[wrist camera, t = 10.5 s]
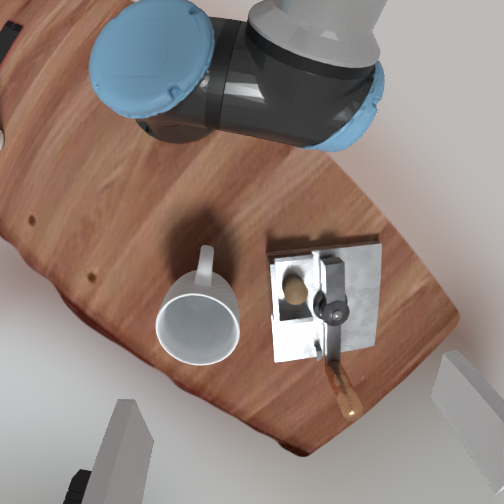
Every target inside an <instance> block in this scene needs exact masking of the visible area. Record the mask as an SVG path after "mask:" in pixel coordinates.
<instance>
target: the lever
mask: <svg viewBox="0 0 504 504" xmlns="http://www.w3.org/2000/svg"><path fill="white" fill-rule="evenodd" d="M320 262H321V283H322V297H323V298H322V299H321V301H320V302H319V306H318V310H319V312H320V314H321V316H322V318H323V320H324V322H325V372H326V374H327V377H328V379H329V382H330V384H331V387H332V389H333V391H334V394H335V396H336V399H337V401H338V404H339V406H340V409H341V411H342V414H343V416H344V419H345V420H347V421H353V420H356V419H358V418H359V417H361V416H362V414H363V413H364V409H363V407H362V405H361V402H360V400H359V398H358V396H357V394H356V392H355V390H354V388H353V386H352V384H351V382H350V380H349V378H348V376H347V374H346V372H345V370H344V368H343V366H342V364H341V362H340V351H341V324H343V323H344V322H345V321H346V320H347V319H348V317H349V314H350V310H349V307H348V305H347V304H346V303H345V262H344V261H343V260H342V259H341V258H340V257H333V258H327V259H320Z"/></svg>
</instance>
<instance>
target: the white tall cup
mask: <svg viewBox="0 0 504 504" xmlns="http://www.w3.org/2000/svg"><path fill="white" fill-rule="evenodd" d="M3 143H4V136H3V133H2V131H1V130H0V151H1V149H2V147H3Z"/></svg>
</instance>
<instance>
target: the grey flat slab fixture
mask: <svg viewBox="0 0 504 504" xmlns="http://www.w3.org/2000/svg"><path fill="white" fill-rule="evenodd" d="M333 257H340V258H341V259H342V260H343V261H344V262H345V303H346V304H347V305H348V307H349V310H350V314H349V317H348V319H347V320H346V321H345V322H344V323H343V324H341V351H340V352H345V351H350V350H356V349H361V348H366V347H371V346H374V344H375V335H376V326H377V316H378V305H379V292H380V277H381V257H382V243H380V242H379V241H377V240H375V241H366V242H356V243H347V244H338V245H328V246H319V247H310V248H300V249H291V250H281V251H272V252H266V262H267V274H268V287H269V300H270V313H271V326H272V340H273V354H274V360H275V362H282V361H289V360H296V359H303V358H310V357H315V358H316V361H317V360H322V355H325V322H324V320H323V318H322V316H321V314H320V312H319V310H318V306H319V302H320V301H321V299H322V298H323V297H322V283H321V262H320V259H327V258H333ZM290 275H297V276H299V277H301V278H302V280H303V282H304V283H305V285H306V287H307V289H308V297H307V299H306V300H305V301H304V302H303V303H301V304H298V305H292V304H290V303H288V302H287V301H286V299H285V296H284V294H283V291H282V282H283V280H284V279H285V278H286V277H288V276H290Z"/></svg>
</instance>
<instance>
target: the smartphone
mask: <svg viewBox="0 0 504 504" xmlns="http://www.w3.org/2000/svg"><path fill="white" fill-rule="evenodd" d="M23 29H24V25H22V24H20V23H18V22H15V21H13V20H8V21H7V22H6V23H5V25H4V26H3V28H2V29H1V31H0V68H1V66H2V64H3V62H4V60H5V58H6V57H7V55H8V53H9V51H10V50H11V48H12V46H13V45H14V43H15V41H16V40H17V38H18V37H19V35H20V33H21V32H22V30H23Z"/></svg>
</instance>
